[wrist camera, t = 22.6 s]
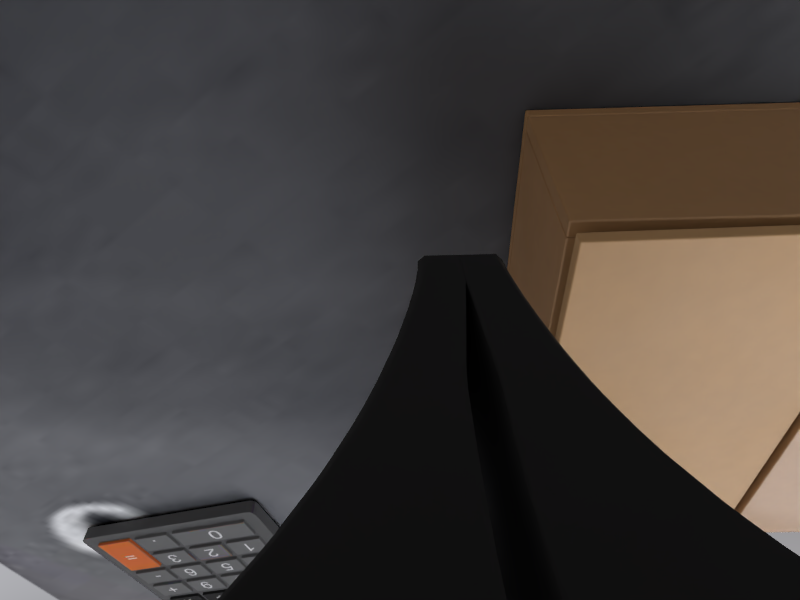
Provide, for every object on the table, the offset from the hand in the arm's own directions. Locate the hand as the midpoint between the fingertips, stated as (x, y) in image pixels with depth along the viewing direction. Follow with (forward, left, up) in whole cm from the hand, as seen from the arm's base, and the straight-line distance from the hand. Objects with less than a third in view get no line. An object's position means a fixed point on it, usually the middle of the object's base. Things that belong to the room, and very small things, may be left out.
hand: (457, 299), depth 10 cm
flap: (-8, -7, -4) cm, 11 cm away
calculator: (-33, +14, -10) cm, 37 cm away
